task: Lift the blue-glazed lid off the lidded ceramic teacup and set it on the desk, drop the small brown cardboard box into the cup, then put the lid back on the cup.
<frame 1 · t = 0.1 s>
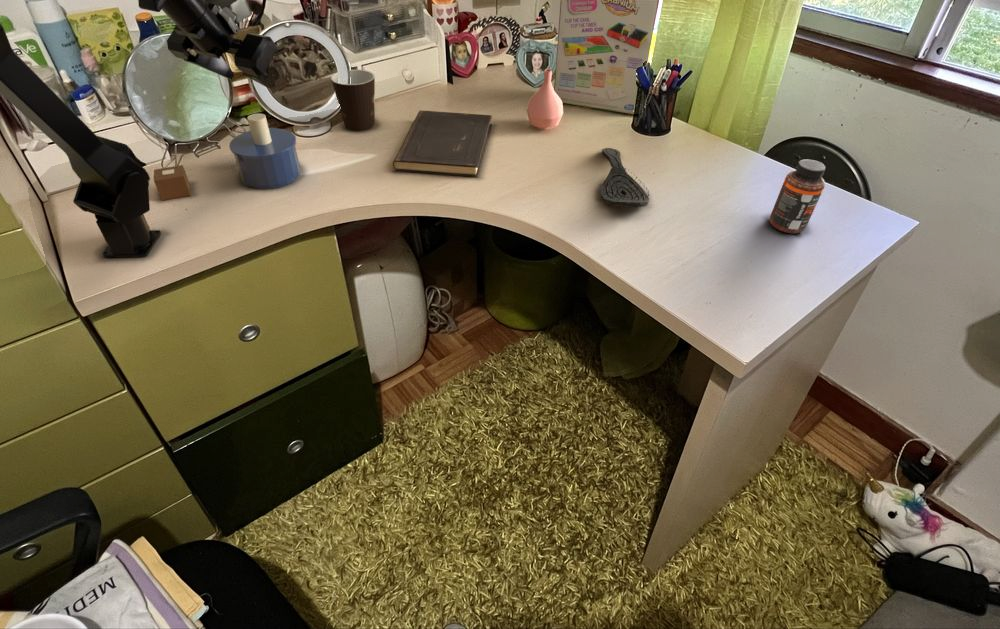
hand: (252, 82, 101), 15 cm above the table, tool tilted 35°, fingers open, 9 cm apart
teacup: (271, 174, 107), on the table
small brown cardboard box: (176, 192, 102), on the table
supplement bottle: (786, 226, 99), on the table
game box: (597, 105, 135), on the table
hardcover book: (445, 147, 117), on the table
coffee mug: (362, 122, 125), on the table
cup lid: (263, 144, 103), point 6 cm above the table, touching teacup
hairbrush: (617, 183, 108), on the table
pink vase: (543, 128, 125), on the table
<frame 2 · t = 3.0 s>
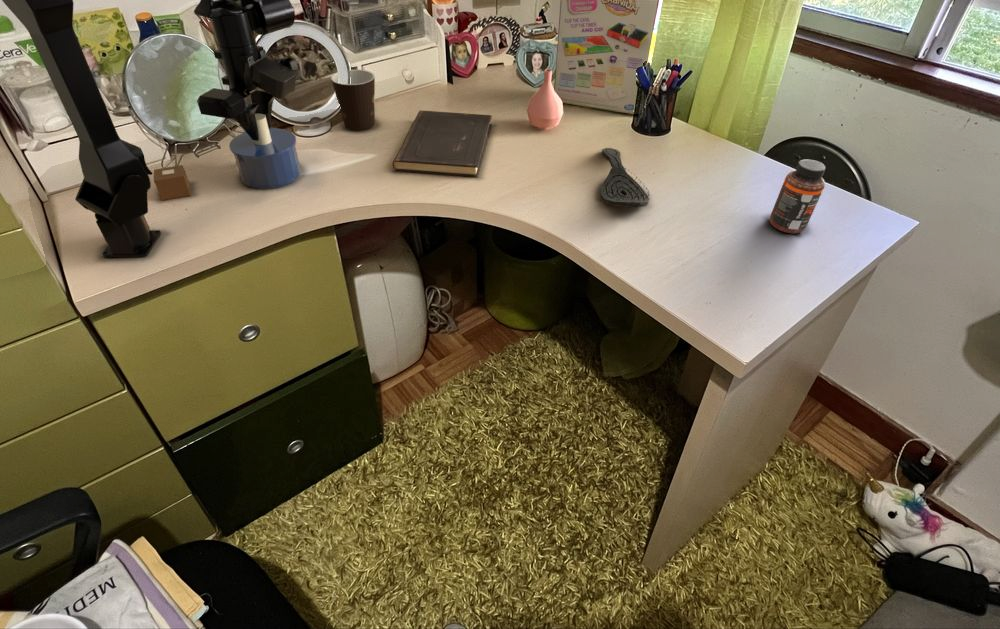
hand: (261, 136, 102), 8 cm above the table, tool pointing down, fingers closed on cup lid, 3 cm apart
cup lid: (263, 144, 103), point 6 cm above the table, touching gripper, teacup
everything else where it was.
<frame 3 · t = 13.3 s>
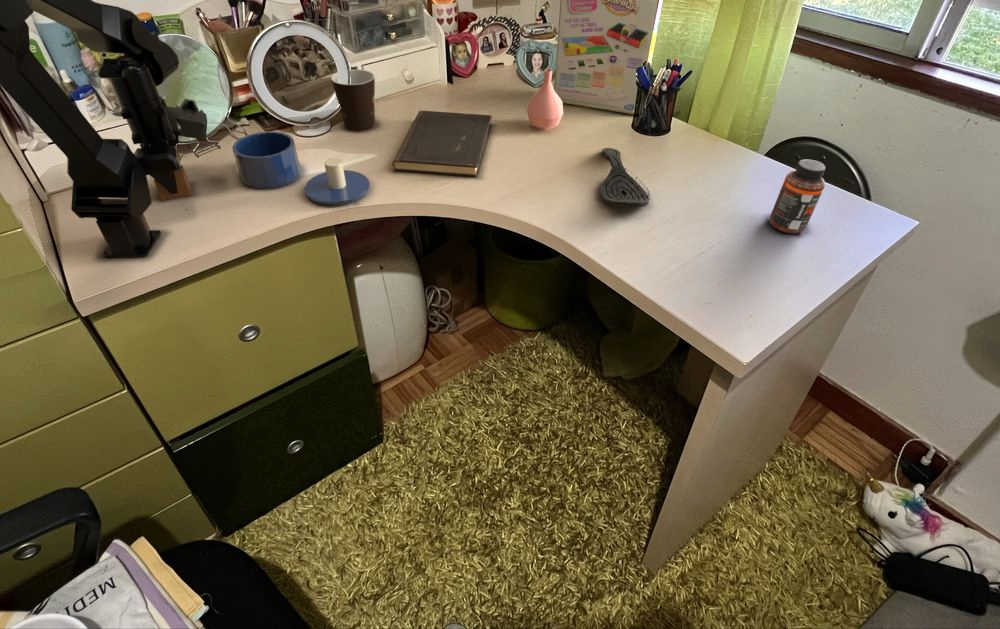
hand: (174, 187, 101), 1 cm above the table, tool pointing down, fingers closed on small brown cardboard box, 4 cm apart
small brown cardboard box: (176, 192, 102), on the table, touching gripper
cup lid: (337, 187, 103), point 1 cm above the table
everything else where it was.
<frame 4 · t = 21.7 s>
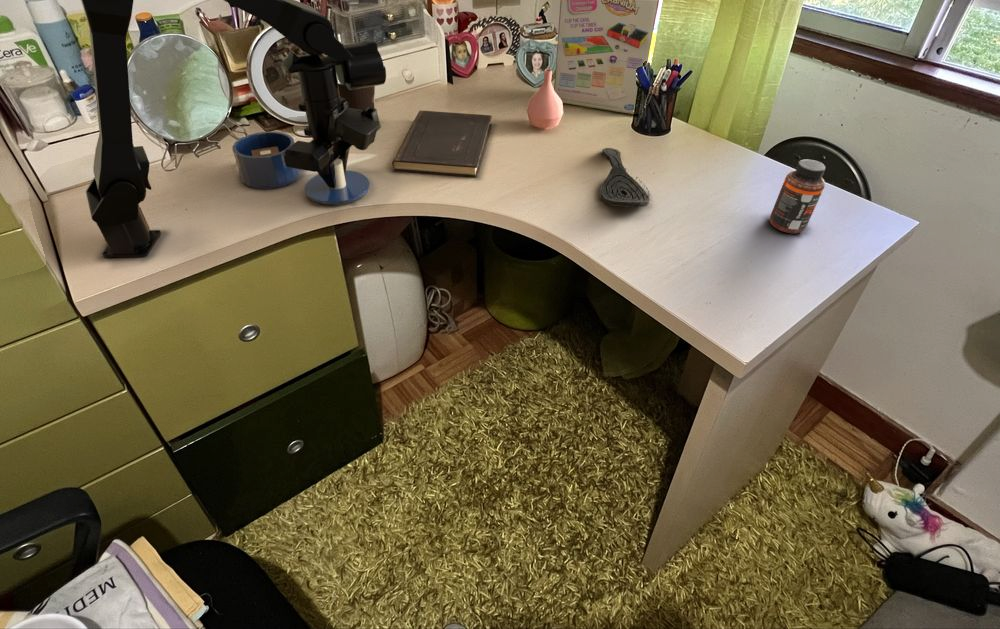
hand: (337, 183, 102), 2 cm above the table, tool pointing down, fingers closed on cup lid, 3 cm apart
small brown cardboard box: (270, 172, 107), point 1 cm above the table, touching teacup
cup lid: (337, 187, 103), point 1 cm above the table, touching gripper
everything else where it was.
when the fingers open (7 cm above the table, at t = 27.2 s): cup lid stays where it is, resting on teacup.
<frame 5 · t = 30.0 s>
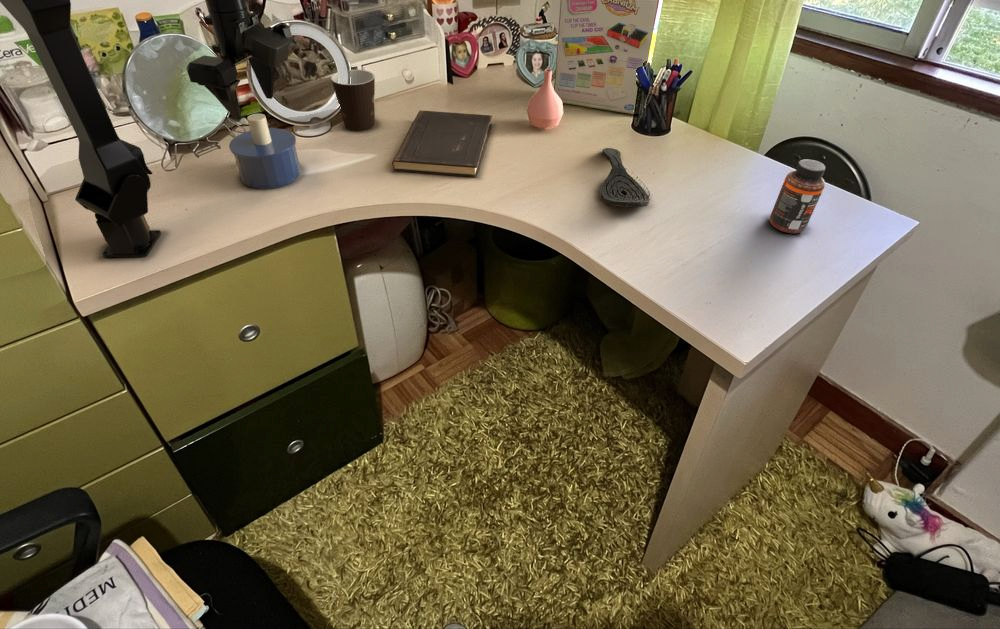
hand: (254, 108, 99), 12 cm above the table, tool pointing down, fingers open, 9 cm apart
cup lid: (263, 144, 103), point 6 cm above the table, touching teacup
everything else where it was.
at the end: small brown cardboard box inside the target area in the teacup (0.0 cm from its centre), point 0.5 cm above the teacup's base; cup lid 0.0 cm off-centre on the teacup, point 6.0 cm above the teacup's base; cup lid tilted 0° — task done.
